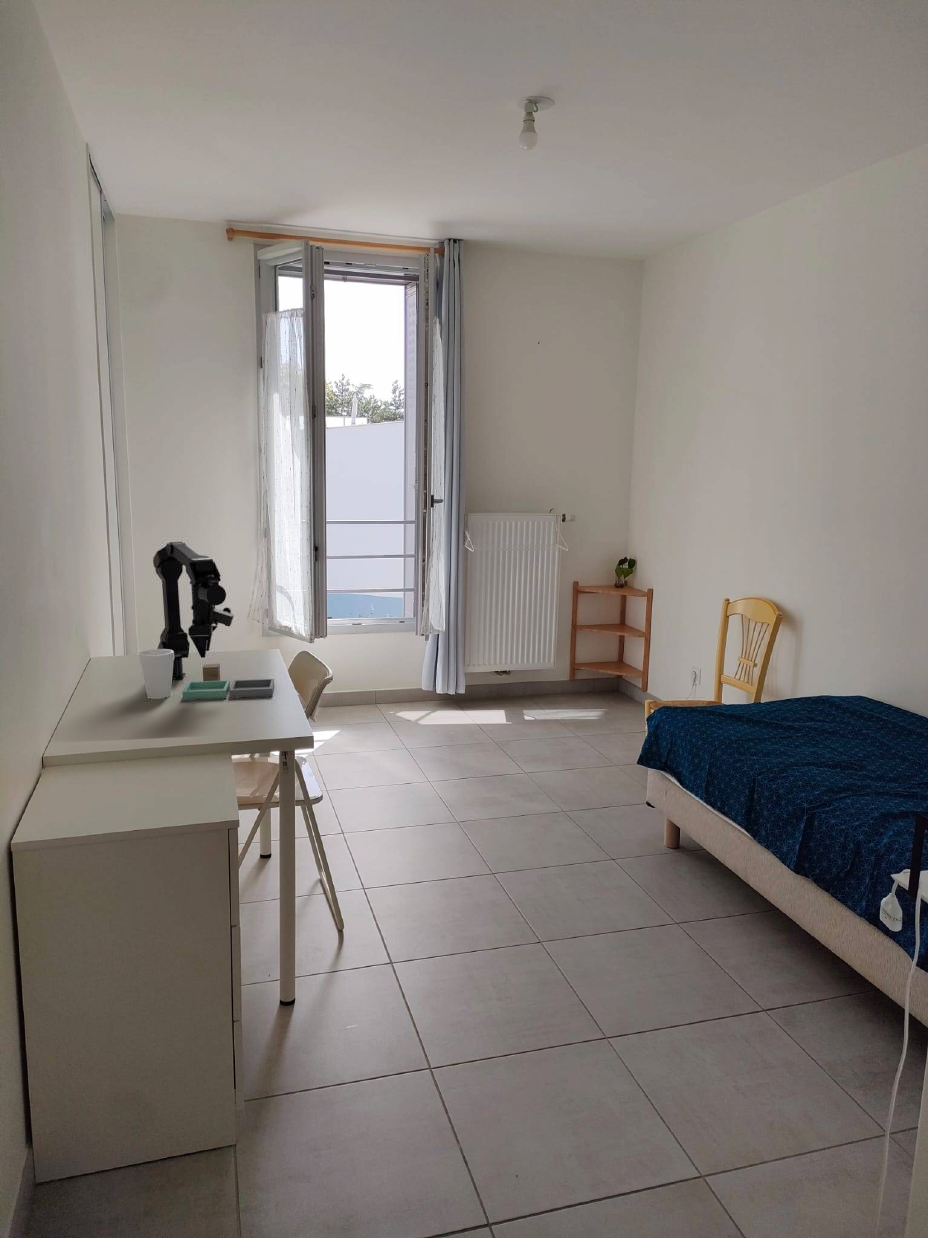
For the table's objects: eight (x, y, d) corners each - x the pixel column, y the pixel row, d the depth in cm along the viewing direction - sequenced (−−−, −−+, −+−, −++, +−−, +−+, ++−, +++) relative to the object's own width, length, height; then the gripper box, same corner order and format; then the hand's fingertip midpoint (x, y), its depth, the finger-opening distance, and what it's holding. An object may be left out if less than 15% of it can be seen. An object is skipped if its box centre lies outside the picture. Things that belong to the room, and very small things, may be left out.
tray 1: (188, 690, 262) (188, 681, 262) (230, 688, 264) (229, 680, 263) (182, 700, 250) (182, 692, 250) (226, 698, 252) (225, 690, 252)
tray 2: (233, 688, 264) (233, 680, 264) (274, 686, 266) (274, 678, 265) (229, 698, 252) (229, 690, 252) (272, 696, 254) (272, 688, 254)
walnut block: (205, 683, 271) (204, 664, 270) (220, 682, 271) (219, 663, 270) (203, 686, 266) (202, 667, 265) (218, 686, 267) (217, 666, 266)
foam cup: (181, 692, 259) (179, 649, 257) (168, 700, 250) (165, 656, 248) (150, 691, 260) (147, 648, 258) (136, 699, 251) (133, 655, 249)
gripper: (228, 605, 245) (230, 660, 247) (234, 595, 263) (236, 646, 265) (186, 606, 243) (189, 661, 245) (195, 596, 261) (198, 648, 264)
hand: (205, 654), depth 255 cm, fingers open, 9 cm apart
